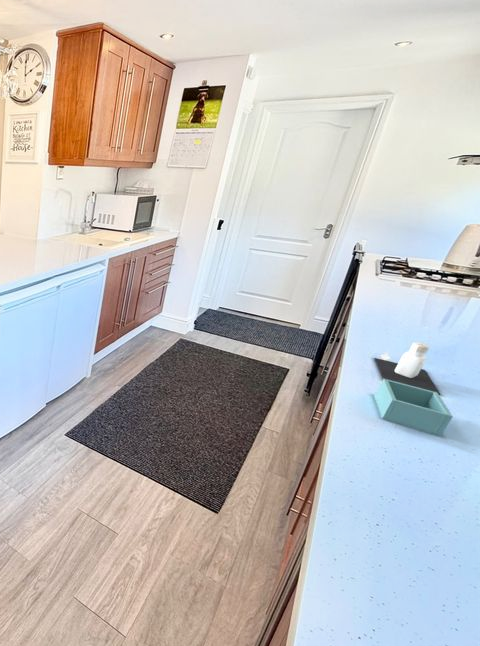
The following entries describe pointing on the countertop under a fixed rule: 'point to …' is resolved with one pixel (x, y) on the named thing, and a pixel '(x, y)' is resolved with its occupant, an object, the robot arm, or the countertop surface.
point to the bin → (412, 407)
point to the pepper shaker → (412, 360)
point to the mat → (418, 381)
